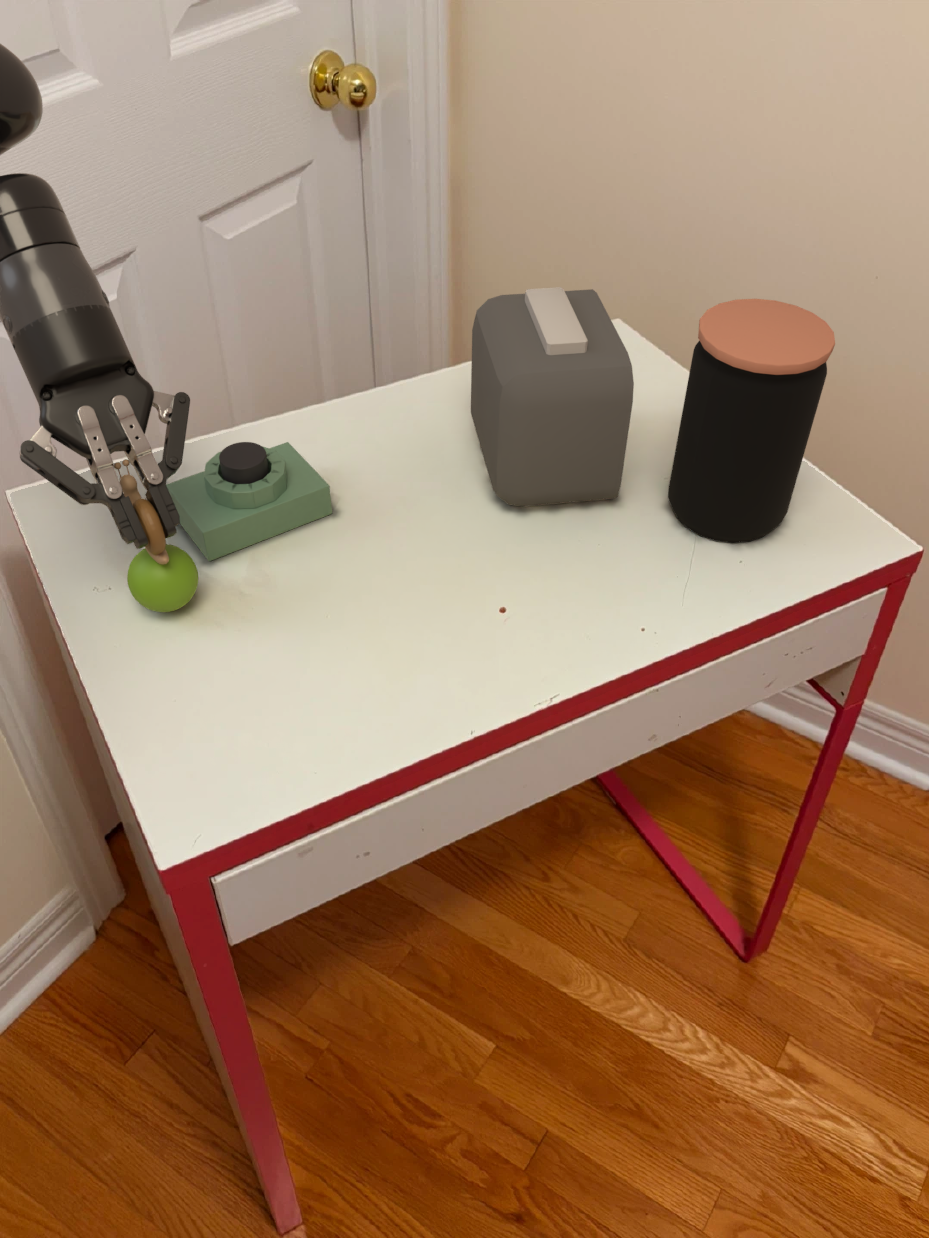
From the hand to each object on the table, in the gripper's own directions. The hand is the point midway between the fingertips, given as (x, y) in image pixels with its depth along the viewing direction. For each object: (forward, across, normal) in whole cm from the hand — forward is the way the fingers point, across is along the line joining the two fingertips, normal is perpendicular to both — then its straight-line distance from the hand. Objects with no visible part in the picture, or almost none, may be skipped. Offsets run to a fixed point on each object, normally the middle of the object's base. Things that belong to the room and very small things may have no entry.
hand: (156, 540), depth 79 cm
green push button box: (0, -11, -12) cm, 16 cm away
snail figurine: (+4, 0, -7) cm, 8 cm away
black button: (-4, -11, -9) cm, 15 cm away
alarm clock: (+5, -37, -6) cm, 38 cm away
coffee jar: (+16, -47, +4) cm, 50 cm away
